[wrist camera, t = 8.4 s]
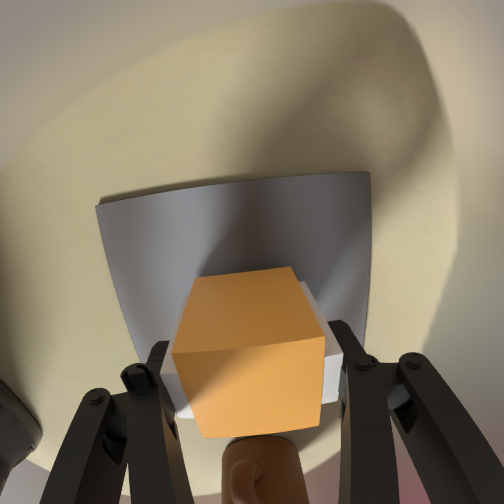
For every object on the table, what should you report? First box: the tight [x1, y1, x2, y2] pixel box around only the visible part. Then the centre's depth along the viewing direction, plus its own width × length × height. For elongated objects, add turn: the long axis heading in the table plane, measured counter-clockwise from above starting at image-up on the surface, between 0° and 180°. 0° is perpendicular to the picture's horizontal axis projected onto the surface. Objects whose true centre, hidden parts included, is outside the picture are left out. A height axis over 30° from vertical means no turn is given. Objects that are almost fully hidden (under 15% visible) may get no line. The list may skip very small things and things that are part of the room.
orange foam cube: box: [171, 266, 325, 438], centre depth 13 cm, size 5×5×7 cm
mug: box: [222, 436, 310, 504], centre depth 18 cm, size 12×8×9 cm, turn 15°
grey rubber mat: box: [95, 172, 371, 364], centre depth 14 cm, size 16×14×7 cm
